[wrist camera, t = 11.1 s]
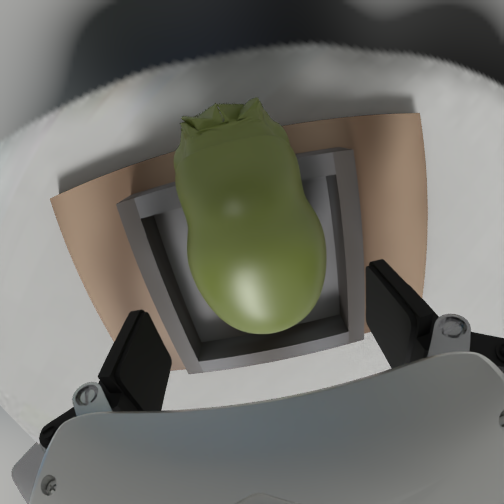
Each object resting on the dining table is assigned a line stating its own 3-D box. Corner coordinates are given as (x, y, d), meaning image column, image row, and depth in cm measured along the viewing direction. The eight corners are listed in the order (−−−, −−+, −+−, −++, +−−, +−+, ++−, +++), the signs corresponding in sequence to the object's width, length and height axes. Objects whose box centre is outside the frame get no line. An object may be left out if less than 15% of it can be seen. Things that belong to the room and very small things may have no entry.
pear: (221, 367, 12) (113, 140, 6) (217, 290, 16) (154, 116, 11) (343, 337, 12) (326, 85, 6) (311, 266, 16) (281, 83, 10)
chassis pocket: (410, 113, 13) (440, 112, 10) (413, 308, 19) (432, 331, 16) (58, 194, 14) (30, 207, 12) (137, 364, 20) (127, 392, 17)
